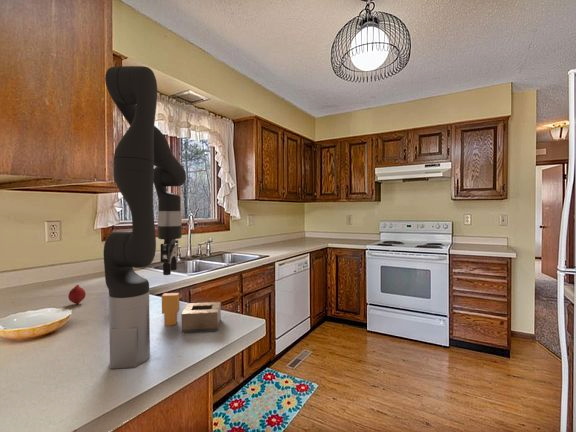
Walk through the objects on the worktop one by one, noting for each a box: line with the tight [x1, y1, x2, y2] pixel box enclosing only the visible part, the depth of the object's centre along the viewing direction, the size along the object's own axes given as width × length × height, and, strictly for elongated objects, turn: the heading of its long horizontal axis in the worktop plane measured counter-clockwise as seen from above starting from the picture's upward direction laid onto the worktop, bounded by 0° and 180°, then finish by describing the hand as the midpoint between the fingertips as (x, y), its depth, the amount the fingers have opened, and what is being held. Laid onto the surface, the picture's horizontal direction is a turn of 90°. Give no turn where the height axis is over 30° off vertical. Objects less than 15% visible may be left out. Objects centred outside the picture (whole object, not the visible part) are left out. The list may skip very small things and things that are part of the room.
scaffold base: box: [181, 301, 222, 334], centre depth 102 cm, size 11×11×6 cm
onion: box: [67, 284, 87, 305], centre depth 126 cm, size 6×6×8 cm
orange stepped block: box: [161, 292, 180, 326], centre depth 104 cm, size 3×5×10 cm, turn 97°
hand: (170, 272), depth 104 cm, fingers open, 8 cm apart
